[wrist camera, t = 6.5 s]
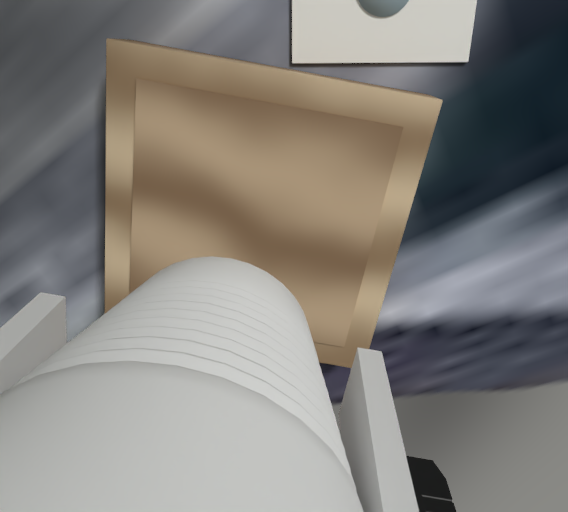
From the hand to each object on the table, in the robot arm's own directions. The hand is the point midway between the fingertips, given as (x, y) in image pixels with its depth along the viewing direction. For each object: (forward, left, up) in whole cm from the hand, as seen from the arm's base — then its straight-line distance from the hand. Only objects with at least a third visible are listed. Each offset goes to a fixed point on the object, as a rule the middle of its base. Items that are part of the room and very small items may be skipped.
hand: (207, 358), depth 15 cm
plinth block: (0, 0, -14) cm, 14 cm away
